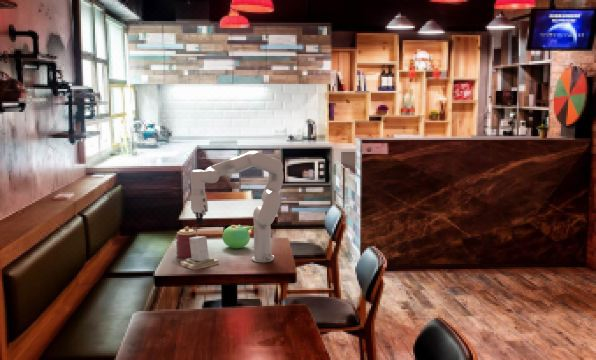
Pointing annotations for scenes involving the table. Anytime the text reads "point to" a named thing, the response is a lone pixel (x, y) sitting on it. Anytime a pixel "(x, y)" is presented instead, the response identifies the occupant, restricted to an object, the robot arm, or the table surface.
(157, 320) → the table surface
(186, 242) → the canister
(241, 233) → the green rounded piece
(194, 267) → the maple base
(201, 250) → the small box
